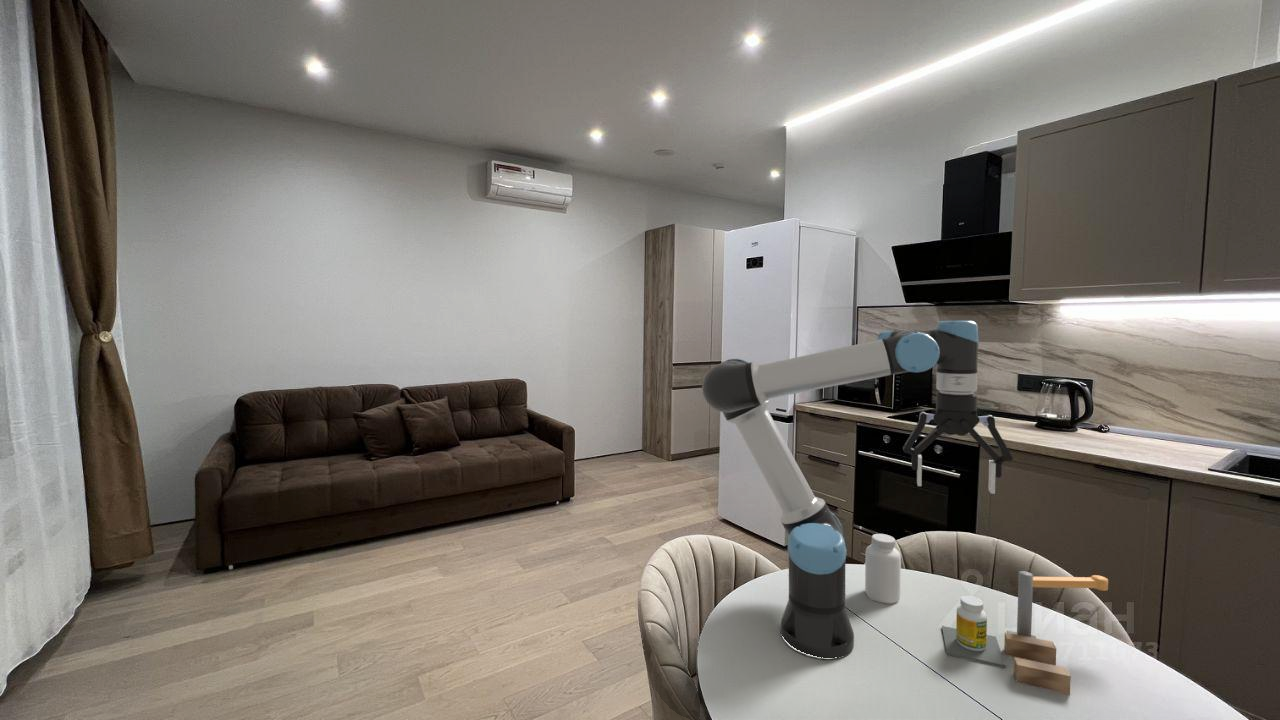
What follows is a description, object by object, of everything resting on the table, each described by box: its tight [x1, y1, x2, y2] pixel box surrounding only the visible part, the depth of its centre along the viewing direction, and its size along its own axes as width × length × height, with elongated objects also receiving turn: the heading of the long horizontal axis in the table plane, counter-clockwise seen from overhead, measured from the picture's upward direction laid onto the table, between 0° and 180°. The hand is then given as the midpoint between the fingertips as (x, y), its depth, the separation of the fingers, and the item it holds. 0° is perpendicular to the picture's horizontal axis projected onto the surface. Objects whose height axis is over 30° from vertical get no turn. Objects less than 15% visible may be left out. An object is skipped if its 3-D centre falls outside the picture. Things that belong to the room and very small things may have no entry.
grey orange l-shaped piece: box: [1016, 570, 1109, 637], centre depth 107 cm, size 3×17×14 cm, turn 85°
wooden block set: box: [1003, 629, 1072, 695], centre depth 103 cm, size 8×17×4 cm, turn 155°
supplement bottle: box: [955, 595, 988, 651], centre depth 107 cm, size 5×5×10 cm
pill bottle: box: [864, 533, 902, 604], centre depth 127 cm, size 8×8×15 cm
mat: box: [941, 625, 1007, 669], centre depth 107 cm, size 10×10×1 cm
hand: (954, 488), depth 112 cm, fingers open, 13 cm apart
